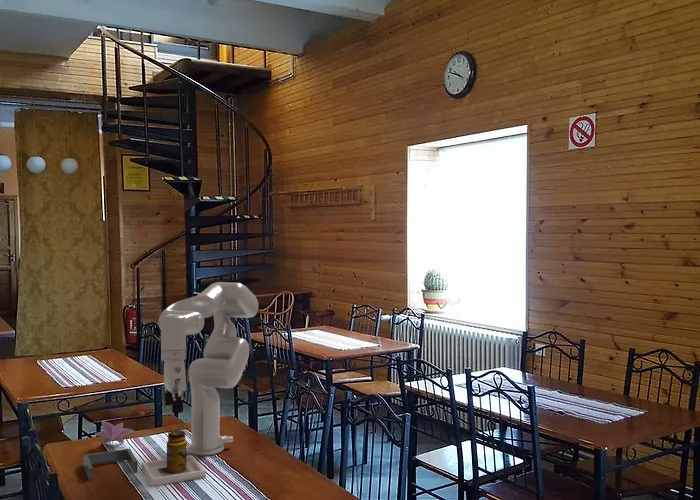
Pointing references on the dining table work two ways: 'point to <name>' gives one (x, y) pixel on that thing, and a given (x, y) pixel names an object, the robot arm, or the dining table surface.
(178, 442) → the condiment
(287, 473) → the dining table surface
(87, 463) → the bracket
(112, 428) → the lily
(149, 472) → the tray
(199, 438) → the robot arm
